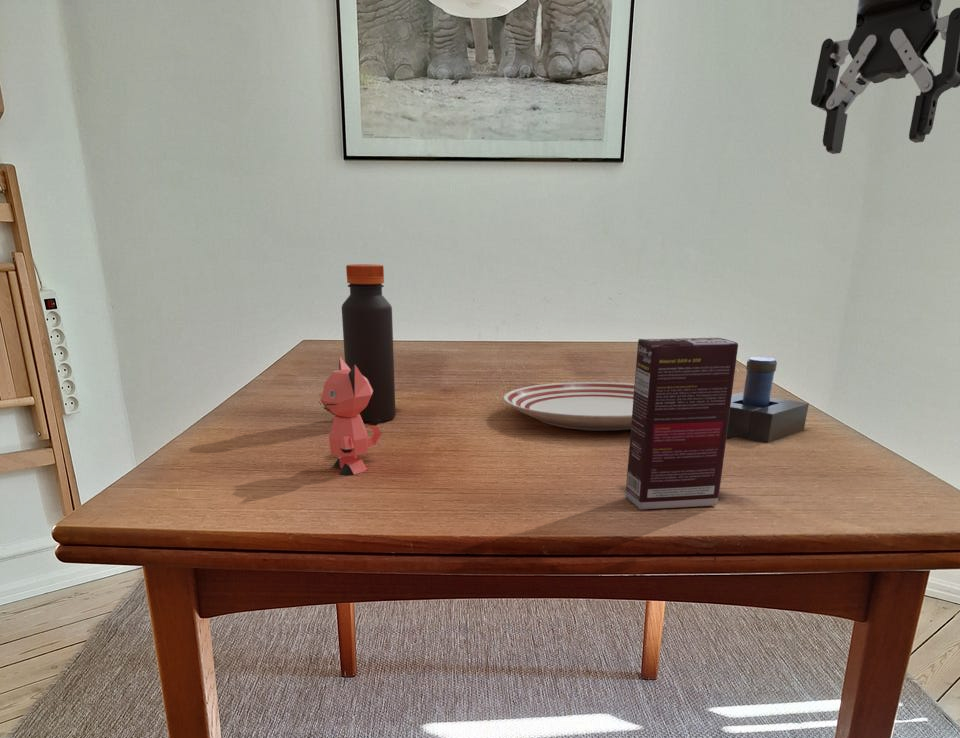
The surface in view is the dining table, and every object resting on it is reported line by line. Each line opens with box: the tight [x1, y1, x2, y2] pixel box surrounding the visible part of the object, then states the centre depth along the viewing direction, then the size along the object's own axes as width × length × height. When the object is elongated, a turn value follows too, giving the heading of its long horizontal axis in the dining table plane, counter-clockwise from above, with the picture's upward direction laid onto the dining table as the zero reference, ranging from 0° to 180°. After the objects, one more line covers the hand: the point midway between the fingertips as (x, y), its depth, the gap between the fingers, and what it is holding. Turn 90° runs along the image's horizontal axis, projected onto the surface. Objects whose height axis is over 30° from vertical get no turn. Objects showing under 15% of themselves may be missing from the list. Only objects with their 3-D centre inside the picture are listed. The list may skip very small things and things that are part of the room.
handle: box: [742, 356, 778, 408], centre depth 110 cm, size 4×4×10 cm
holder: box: [726, 391, 810, 444], centre depth 111 cm, size 10×10×4 cm
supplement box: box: [625, 337, 739, 511], centre depth 83 cm, size 9×5×16 cm, turn 100°
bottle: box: [341, 263, 396, 424], centre depth 115 cm, size 7×7×20 cm
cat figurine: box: [318, 355, 383, 476], centre depth 94 cm, size 7×7×12 cm
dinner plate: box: [503, 381, 635, 432], centre depth 121 cm, size 27×27×3 cm
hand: (873, 146), depth 86 cm, fingers open, 8 cm apart
